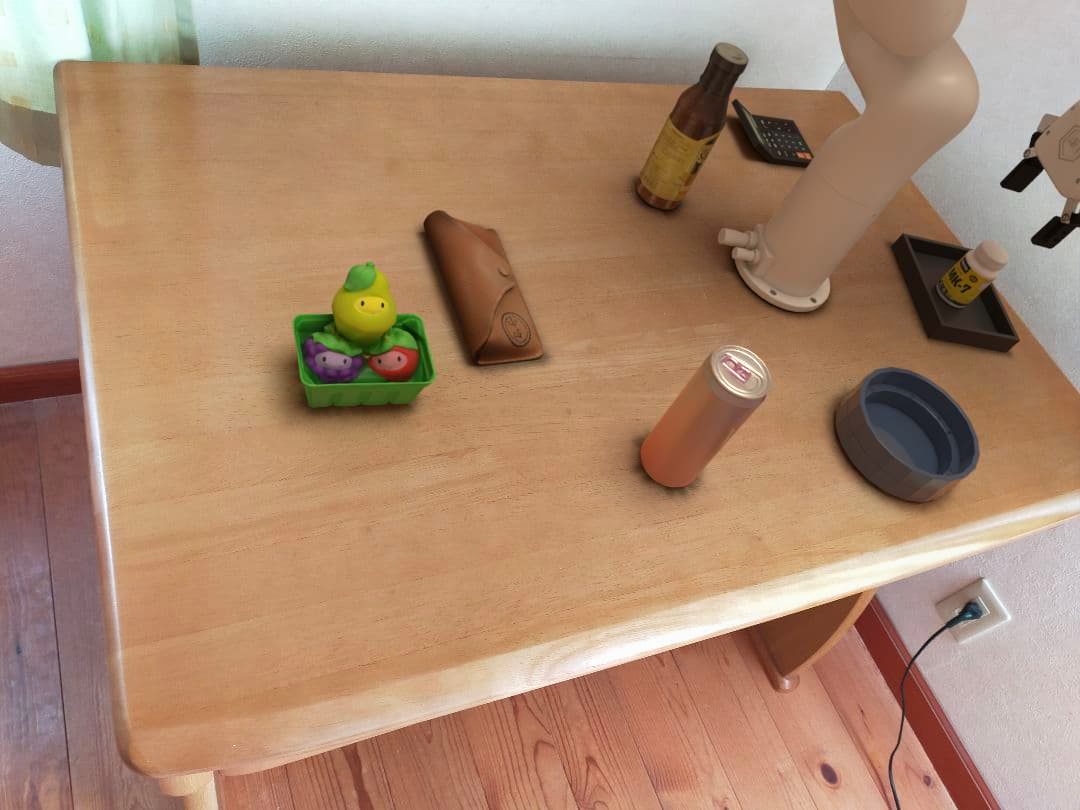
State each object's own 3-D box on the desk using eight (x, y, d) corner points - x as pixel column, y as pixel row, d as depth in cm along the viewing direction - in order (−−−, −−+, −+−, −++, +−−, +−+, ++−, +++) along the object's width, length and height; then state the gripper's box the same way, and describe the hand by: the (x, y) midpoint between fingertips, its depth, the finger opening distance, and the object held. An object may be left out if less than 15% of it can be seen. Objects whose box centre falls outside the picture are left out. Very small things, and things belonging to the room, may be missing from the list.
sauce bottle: (677, 219, 108) (758, 82, 92) (630, 200, 107) (704, 58, 92) (682, 187, 112) (760, 51, 97) (637, 169, 111) (708, 28, 96)
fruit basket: (295, 421, 74) (310, 338, 66) (284, 339, 79) (296, 251, 70) (425, 415, 79) (455, 337, 70) (408, 338, 84) (434, 255, 75)
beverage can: (658, 427, 87) (730, 331, 76) (705, 467, 86) (785, 376, 75) (626, 459, 83) (696, 364, 72) (674, 502, 82) (753, 412, 71)
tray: (1006, 352, 113) (1020, 340, 112) (928, 337, 110) (941, 325, 108) (964, 262, 123) (976, 249, 121) (891, 246, 119) (902, 232, 117)
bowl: (853, 496, 90) (882, 471, 86) (819, 385, 98) (845, 358, 94) (965, 510, 94) (998, 487, 90) (924, 402, 102) (952, 377, 98)
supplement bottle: (928, 284, 116) (972, 239, 109) (950, 279, 118) (994, 234, 112) (951, 312, 114) (997, 267, 107) (973, 306, 116) (1019, 262, 110)
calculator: (814, 168, 125) (826, 151, 122) (746, 160, 120) (756, 142, 118) (790, 125, 130) (801, 108, 127) (723, 115, 125) (733, 98, 123)
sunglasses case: (551, 355, 87) (538, 321, 81) (485, 383, 87) (468, 350, 81) (493, 225, 96) (478, 185, 90) (434, 250, 96) (415, 212, 90)
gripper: (1086, 40, 96) (974, 161, 109) (1160, 141, 86) (1027, 261, 99) (1136, 59, 98) (1021, 175, 111) (1214, 159, 88) (1077, 275, 101)
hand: (1024, 216), depth 105 cm, fingers open, 9 cm apart
